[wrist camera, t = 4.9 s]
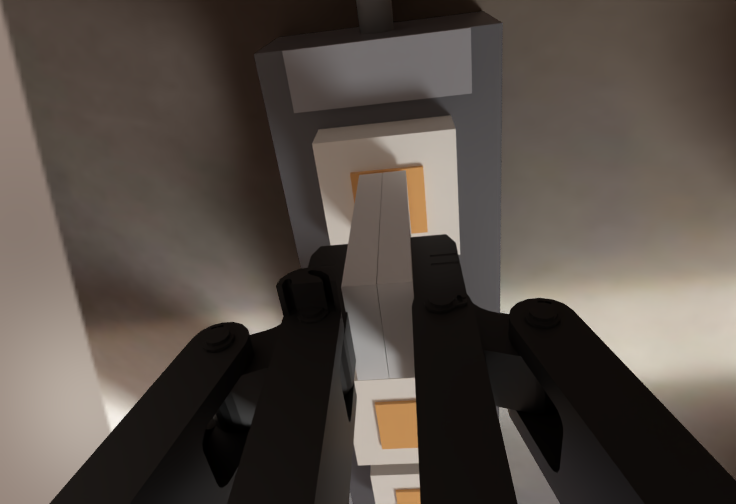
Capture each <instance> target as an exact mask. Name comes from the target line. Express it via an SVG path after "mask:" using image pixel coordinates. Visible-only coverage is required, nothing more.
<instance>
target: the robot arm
mask: <svg viewBox="0 0 736 504" xmlns="http://www.w3.org/2000/svg"><path fill="white" fill-rule="evenodd" d="M276 288H277V292H278V296H279V300H280V303H281V307H282V311H283V315H284V317H283V320H282V323H281V324H280V325H279V326H277V327H275V328H272V329H269V330H266V331H263V332H259V333H256V334H252V335H249V332H248V329H247V328H246V327H245V326H244V325H242V324H239V323H235V322H225V323H219V324H215V325H212V326H210V327H208V328H206V329H204V330H202V331H200V332H199V333H198V334H197V335H196V336H195V337H194V338H192V340H191V341H190V342H189V343H188V344H187V345H186V347H185V348H184V349H183V350H182V351H181V352H180V353H179V355H178V356H177V357H176V358H175V359H174V360H173V362H172V363H171V364H170V365H169V366H168V367H167V368H166V370H165V371H164V372H163V373H162V374H161V375H160V377H159V378H158V379H157V380H156V381H155V382H154V383H153V385H152V386H151V387H150V388H149V389H148V390H147V392H146V393H145V394H144V395H143V396H142V397H141V399H140V400H139V401H138V402H137V403H136V404H135V405H134V407H133V408H132V409H131V410H130V411H129V412H128V414H127V415H126V416H125V417H124V418H123V419H122V420H121V422H120V423H119V424H118V425H117V426H116V427H115V429H114V430H113V431H112V432H111V433H110V434H109V435H108V437H107V438H106V439H105V440H104V441H103V442H102V444H101V445H100V446H99V447H98V448H97V449H96V451H95V452H94V453H93V454H92V455H91V457H90V458H89V459H88V460H87V461H86V462H85V463H84V464H83V466H82V467H81V468H80V469H79V470H78V471H77V473H76V474H75V475H74V476H73V477H72V478H71V479H70V481H69V482H68V483H67V484H66V485H65V486H64V487H63V489H62V490H61V491H60V492H59V494H57V496H56V497H55V498H54V499H53V500H52V501H51V503H50V504H349V493H350V480H351V467H352V455H353V442H354V429H355V416H356V403H357V394H356V389H355V383H354V377H355V368H356V373H357V379H358V380H375V379H389V378H390V379H391V378H408V377H415V392H416V414H417V436H418V458H419V480H420V502H421V504H517V500H516V495H515V491H514V486H513V482H512V477H511V473H510V468H509V464H508V459H507V455H506V450H505V446H504V441H503V437H502V432H501V428H500V423H499V419H498V414H497V410H496V406H498V407H503V408H507V409H508V412H509V416H510V418H511V419H512V421H513V423H514V425H515V426H516V428H517V430H518V431H519V433H520V435H521V437H522V438H523V440H524V442H525V444H526V445H527V447H528V449H529V450H530V452H531V454H532V456H533V457H534V459H535V461H536V463H537V464H538V466H539V468H540V470H541V471H542V473H543V475H544V476H545V478H546V480H547V482H548V483H549V485H550V487H551V489H552V490H553V492H554V494H555V495H556V497H557V499H558V501H559V502H560V504H736V481H735V479H734V478H733V477H732V476H731V475H730V474H729V473H728V472H727V471H726V470H725V469H724V468H723V467H722V466H721V465H720V464H719V463H718V462H717V461H716V460H715V458H714V457H713V456H712V455H711V454H710V453H709V452H708V451H707V450H706V449H705V448H704V447H703V446H702V445H701V444H700V443H699V442H698V441H697V440H696V439H695V438H694V436H693V435H692V434H691V433H690V432H689V431H688V430H687V429H686V428H685V427H684V426H683V425H682V424H681V423H680V422H679V421H678V420H677V419H676V418H675V417H674V416H673V414H672V413H671V412H670V411H669V410H668V409H667V408H666V407H665V406H664V405H663V404H662V403H661V402H660V401H659V400H658V399H657V398H656V397H655V396H654V395H653V393H652V392H651V391H650V390H649V389H648V388H647V387H646V386H645V385H644V384H643V383H642V382H641V381H640V380H639V379H638V378H637V377H636V376H635V375H634V374H633V373H632V371H631V370H630V369H629V368H628V367H627V366H626V365H625V364H624V363H623V362H622V361H621V360H620V359H619V358H618V357H617V356H616V355H615V354H614V353H613V352H612V351H611V349H610V348H609V347H608V346H607V345H606V344H605V343H604V342H603V341H602V340H601V339H600V338H599V337H598V336H597V335H596V334H595V333H594V332H593V331H592V330H591V328H590V327H589V326H588V325H587V324H586V323H585V322H584V321H583V320H582V319H581V318H580V317H579V316H578V315H577V314H576V313H575V312H574V311H573V310H572V309H571V308H569V307H568V306H567V305H565V304H563V303H561V302H558V301H555V300H552V299H544V298H535V299H527V300H524V301H521V302H519V303H517V304H516V305H515V306H514V307H512V308H511V310H510V314H504V313H497V312H492V311H488V310H485V309H483V308H480V307H478V306H477V305H475V304H474V303H473V302H472V300H471V299H470V297H469V295H467V292H466V287H465V283H464V278H463V274H462V269H461V265H460V260H459V256H458V251H457V246H456V242H454V241H453V240H452V239H451V238H450V237H449V236H448V235H447V234H442V235H430V236H419V237H412V234H411V223H410V212H409V200H408V189H407V178H406V170H403V171H393V172H383V174H382V173H373V174H363V175H359V179H358V185H357V192H356V198H355V204H354V210H353V216H352V223H351V229H350V235H349V241H348V244H341V245H329V246H320V247H319V248H318V249H317V250H316V251H315V252H314V253H313V254H312V255H311V258H310V261H309V265H308V268H303V269H298V270H296V271H293V272H291V273H288V274H287V275H285V276H284V277H283V278H281V279H280V280H279V282H278V283H277V285H276Z"/></svg>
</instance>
